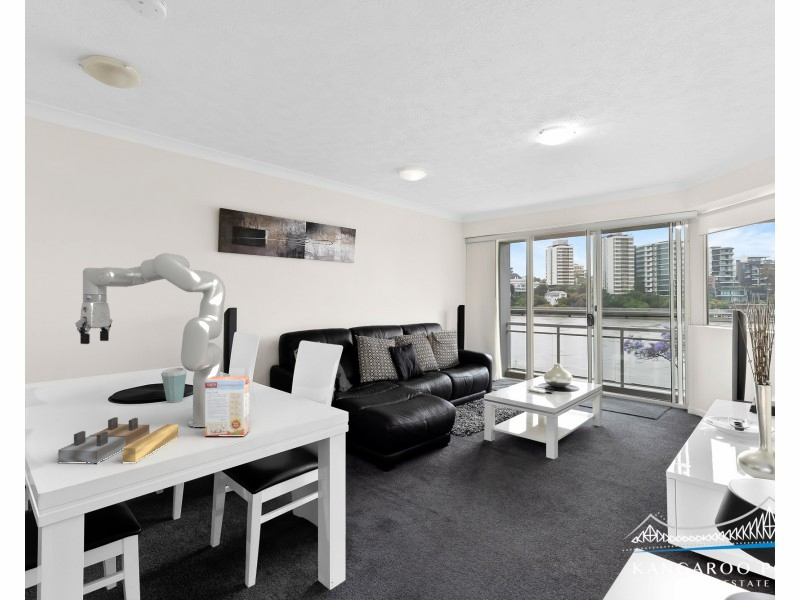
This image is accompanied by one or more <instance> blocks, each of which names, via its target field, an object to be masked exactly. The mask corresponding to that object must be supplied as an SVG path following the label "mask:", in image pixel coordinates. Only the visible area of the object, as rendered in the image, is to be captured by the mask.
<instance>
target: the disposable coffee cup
mask: <svg viewBox="0 0 800 600" xmlns="http://www.w3.org/2000/svg"><path fill="white" fill-rule="evenodd" d="M187 373H188V370H186V369H185V368H184V367H172V368H171V367H170V368H167V369H165V370H163V371H162V372H161V374H160V377H161V379H162V385H163V389H164V394H165V395H164V396H165V400H166V401H167V403H178V402H182V401H183V399H184V393H185V386H186V379H187Z"/></svg>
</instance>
